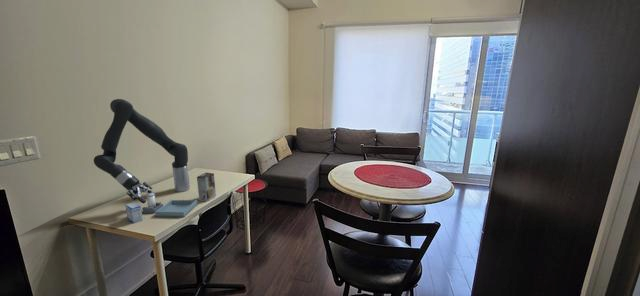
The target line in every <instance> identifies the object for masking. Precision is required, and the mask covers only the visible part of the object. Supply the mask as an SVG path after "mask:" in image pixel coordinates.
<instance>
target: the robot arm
mask: <svg viewBox="0 0 640 296" xmlns="http://www.w3.org/2000/svg"><path fill="white" fill-rule="evenodd" d="M109 106H110V110H111V112H112V113H113V119H112V122H111V124H110V126H109V128H108V129H107V130H106V132H105V134H104V137H103V140H102V143H101V146H100V148H101V150H103V153H102V154H98V155H95V157H94V158H93V164H94V165H95V167H97V168H98V169H99V170H101V171H103V172H104V173H107V174H108V175H110V176H111V177H112V178H113V179H114V180H115V181H117V182H118V184H120V185H121V187H124V189H126V190H127V192H126V195H127V196H129V198H131V199H132V200H133V201H136V200H138V201H139V202H140V203H142V204H145V203H146V202H147V199H145V198H144V197H143V196H141V194H142V193H146V194H148V193H154V194H155V195H156V193H155V192H153V190H152V189H153V187H152V186H151V185H149V184H148V183H147V182H146V181H144V182H143V183H141V182H140V180H139V179H138V178H137V177H136V176H135V175H134V174H132V173H131V172H130V171H128V170H127V169H126V168H125V167H123V166H122V165H121V164H117V163H115V162H116V158H117V148H118V145H119V142H120V139H121V137H122V133H123V131H124V129H125V126H126V124H127V123H128V122H129V123H130V124H131V125H132V126H134V127H135V129H136V130H138V131H139V132H140V133H142V134H143V135H144V136H145V137H147V138H148V139H150V140H151V141H153V142H154V143H156V144H158V145H159V146H161V148H163V149H164V150H165V151H166V152H167V153H168V154H169V155H171V156H173V157H174V158H173V159H174V161H173V162H172V163H171V165H172V174H173V175H172V176H173V184H174V191H175V192H186V191H188V190H190V189H191V188H190V187H191V186H190V184H191V183H190V176H189V175H190V174H189V169H188V162H189V152H188V147H187V146H186V145H185V144H183V143H178V142H176V141H174V140H173V139H171V138H170V137H169V136H167V134H166V133H165V131H164V130H163V128H161V127H160V126H159V125H158V124H157V123H155V122H154V121H152V120H151V119H149V118H147V117H146V116H144V115H142V114H141V113H139V112H138V111H137V110H136V109H134V106H133V104H132V103H131V102H130V101H127V100H125V99H122V98H116V99H112V100H111V102H110V104H109Z"/></svg>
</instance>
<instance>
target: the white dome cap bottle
mask: <svg viewBox="0 0 640 296" xmlns="http://www.w3.org/2000/svg"><path fill="white" fill-rule="evenodd" d="M154 193H155V192H153V193H146V195H145V196H146V202H147V207H154V209H155V208H156V193H155V194H154Z"/></svg>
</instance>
